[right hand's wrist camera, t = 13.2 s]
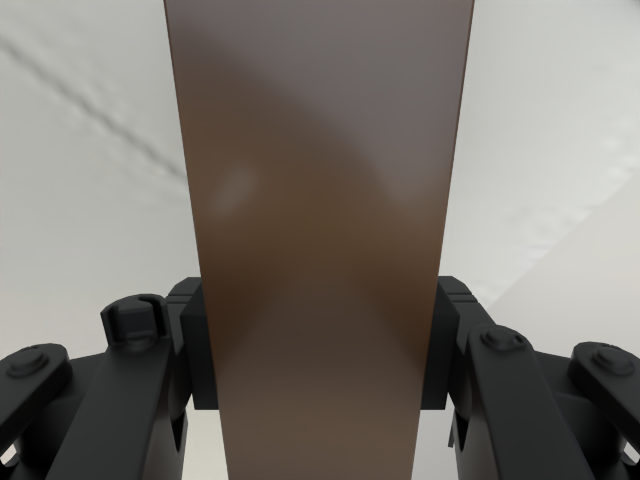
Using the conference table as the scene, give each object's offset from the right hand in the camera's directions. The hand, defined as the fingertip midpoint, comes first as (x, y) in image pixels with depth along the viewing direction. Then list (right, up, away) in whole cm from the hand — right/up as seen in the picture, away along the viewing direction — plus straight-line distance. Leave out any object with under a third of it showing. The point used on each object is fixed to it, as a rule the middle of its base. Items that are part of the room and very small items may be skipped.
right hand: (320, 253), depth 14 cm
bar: (0, +23, -8) cm, 25 cm away
